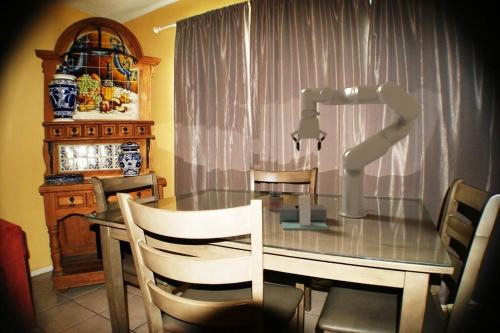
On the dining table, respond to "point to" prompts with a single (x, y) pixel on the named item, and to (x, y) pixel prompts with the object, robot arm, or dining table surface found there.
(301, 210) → the peg
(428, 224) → the dining table surface
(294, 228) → the mat
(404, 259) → the dining table surface
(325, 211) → the rail
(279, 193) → the lighter
